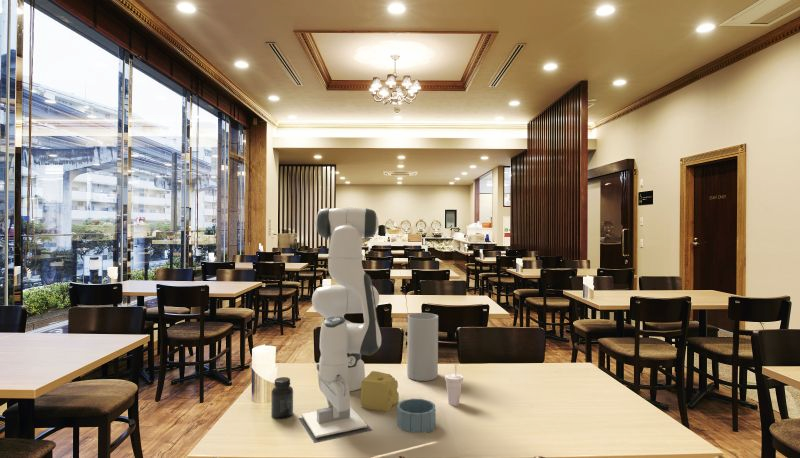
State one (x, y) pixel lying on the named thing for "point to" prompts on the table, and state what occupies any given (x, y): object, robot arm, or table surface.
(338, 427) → the square lid
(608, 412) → the table surface
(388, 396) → the cheese
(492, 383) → the table surface
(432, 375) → the cylinder vase
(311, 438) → the mat
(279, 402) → the supplement bottle
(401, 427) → the bowl
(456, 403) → the smoothie
